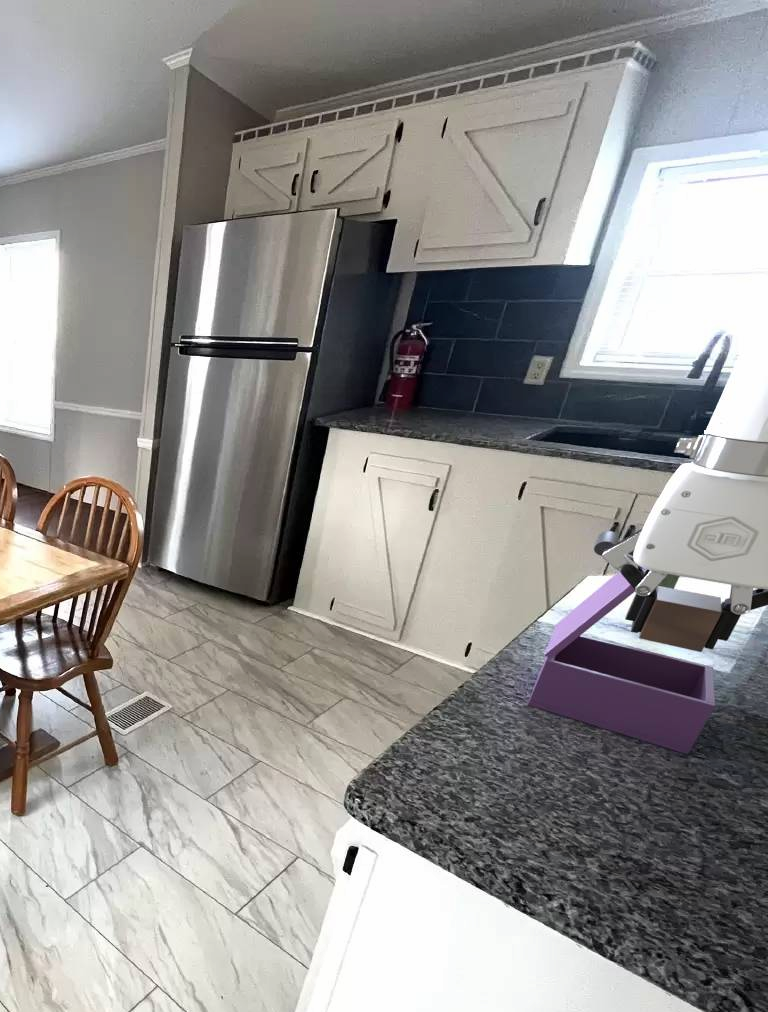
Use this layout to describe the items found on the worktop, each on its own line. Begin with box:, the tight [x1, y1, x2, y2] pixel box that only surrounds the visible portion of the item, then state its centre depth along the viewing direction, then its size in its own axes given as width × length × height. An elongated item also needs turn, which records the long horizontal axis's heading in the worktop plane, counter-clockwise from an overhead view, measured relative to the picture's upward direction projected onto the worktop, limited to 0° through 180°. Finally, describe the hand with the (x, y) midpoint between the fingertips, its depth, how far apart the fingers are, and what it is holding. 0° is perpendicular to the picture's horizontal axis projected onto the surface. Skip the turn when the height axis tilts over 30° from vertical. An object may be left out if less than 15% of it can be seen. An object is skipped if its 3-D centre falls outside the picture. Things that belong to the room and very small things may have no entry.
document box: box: [526, 634, 716, 755], centre depth 79 cm, size 14×11×7 cm
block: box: [638, 586, 722, 653], centre depth 64 cm, size 4×4×4 cm
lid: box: [543, 530, 646, 659], centre depth 78 cm, size 15×11×6 cm
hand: (671, 633), depth 64 cm, fingers closed on block, 4 cm apart
